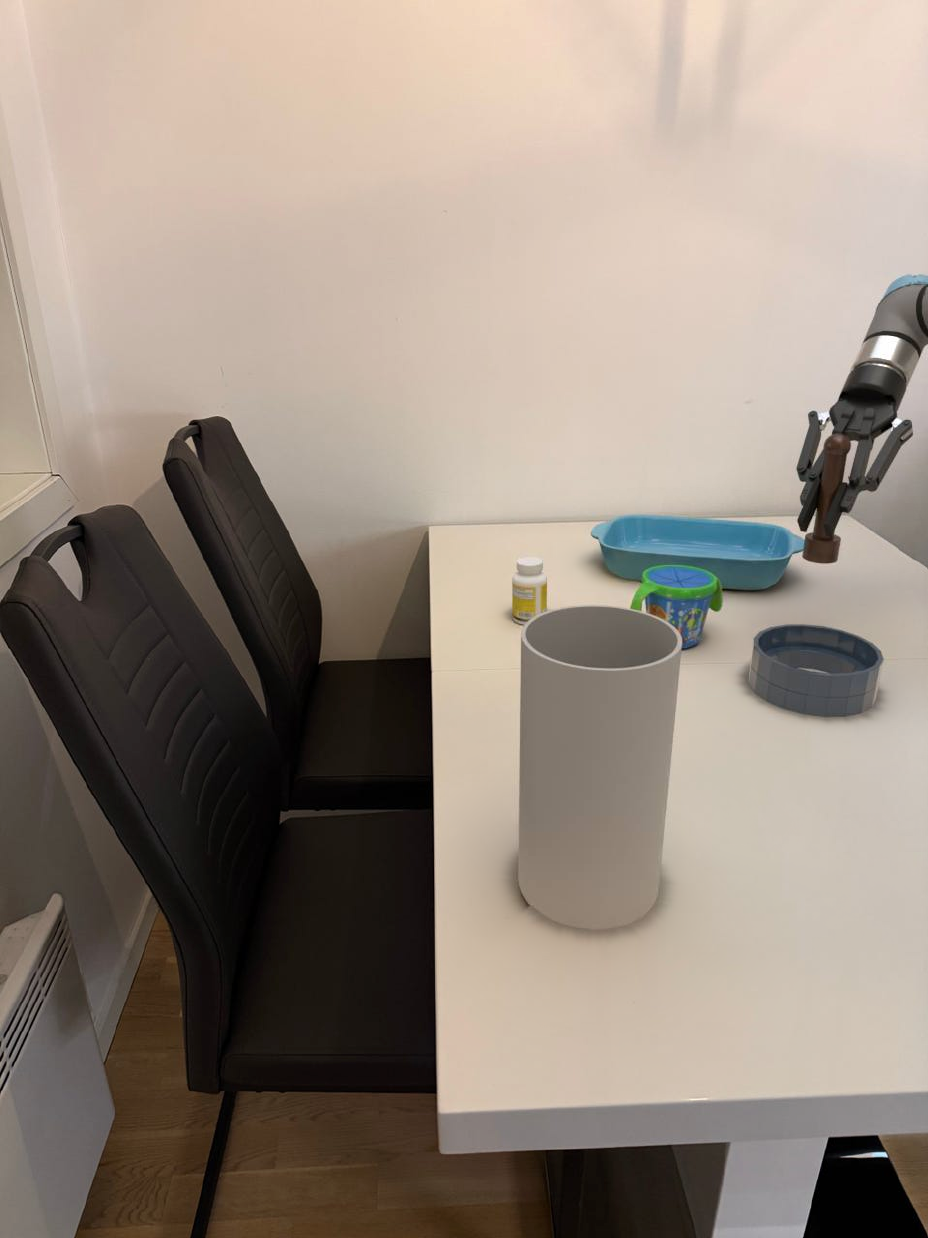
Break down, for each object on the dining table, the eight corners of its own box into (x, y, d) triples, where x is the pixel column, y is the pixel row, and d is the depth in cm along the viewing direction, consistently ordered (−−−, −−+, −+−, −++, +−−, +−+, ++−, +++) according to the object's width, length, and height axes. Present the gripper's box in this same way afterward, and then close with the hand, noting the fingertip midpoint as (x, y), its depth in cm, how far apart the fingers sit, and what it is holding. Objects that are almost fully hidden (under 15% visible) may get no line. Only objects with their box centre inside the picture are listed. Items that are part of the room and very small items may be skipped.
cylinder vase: (645, 843, 81) (666, 604, 71) (669, 939, 70) (697, 670, 60) (516, 841, 82) (519, 605, 72) (519, 936, 70) (523, 670, 61)
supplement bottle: (536, 610, 136) (537, 553, 132) (552, 622, 131) (554, 563, 127) (506, 616, 134) (506, 558, 130) (521, 628, 129) (522, 568, 125)
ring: (885, 685, 110) (894, 640, 107) (858, 736, 99) (868, 687, 96) (768, 658, 118) (774, 615, 116) (731, 701, 107) (737, 655, 104)
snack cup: (697, 619, 131) (703, 557, 127) (740, 645, 122) (748, 580, 118) (609, 635, 126) (613, 571, 122) (646, 663, 117) (651, 595, 113)
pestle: (841, 556, 113) (861, 432, 106) (832, 565, 109) (853, 438, 103) (807, 551, 115) (825, 429, 108) (798, 559, 112) (816, 434, 105)
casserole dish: (578, 581, 147) (580, 543, 145) (601, 543, 167) (603, 509, 164) (802, 604, 136) (808, 562, 133) (799, 561, 156) (804, 523, 153)
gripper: (943, 403, 110) (881, 554, 106) (822, 393, 120) (761, 532, 115) (940, 365, 105) (875, 523, 100) (814, 358, 114) (749, 503, 109)
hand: (814, 528), depth 107 cm, fingers closed on pestle, 3 cm apart
